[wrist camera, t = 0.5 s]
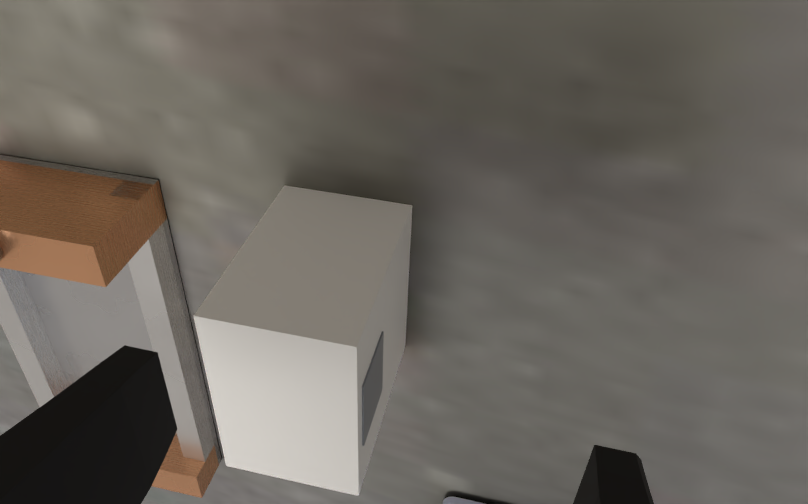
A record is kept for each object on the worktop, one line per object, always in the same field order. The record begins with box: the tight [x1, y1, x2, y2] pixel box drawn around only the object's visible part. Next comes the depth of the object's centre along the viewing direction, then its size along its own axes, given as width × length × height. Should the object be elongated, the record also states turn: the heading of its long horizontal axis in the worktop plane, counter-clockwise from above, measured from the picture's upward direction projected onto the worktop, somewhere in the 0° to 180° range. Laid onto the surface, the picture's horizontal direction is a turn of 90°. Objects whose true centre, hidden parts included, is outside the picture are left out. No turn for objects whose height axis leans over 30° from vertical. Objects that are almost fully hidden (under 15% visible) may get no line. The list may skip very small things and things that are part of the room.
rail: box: [0, 155, 222, 498], centre depth 25 cm, size 15×8×4 cm, turn 178°
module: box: [194, 185, 412, 496], centre depth 20 cm, size 6×4×6 cm
